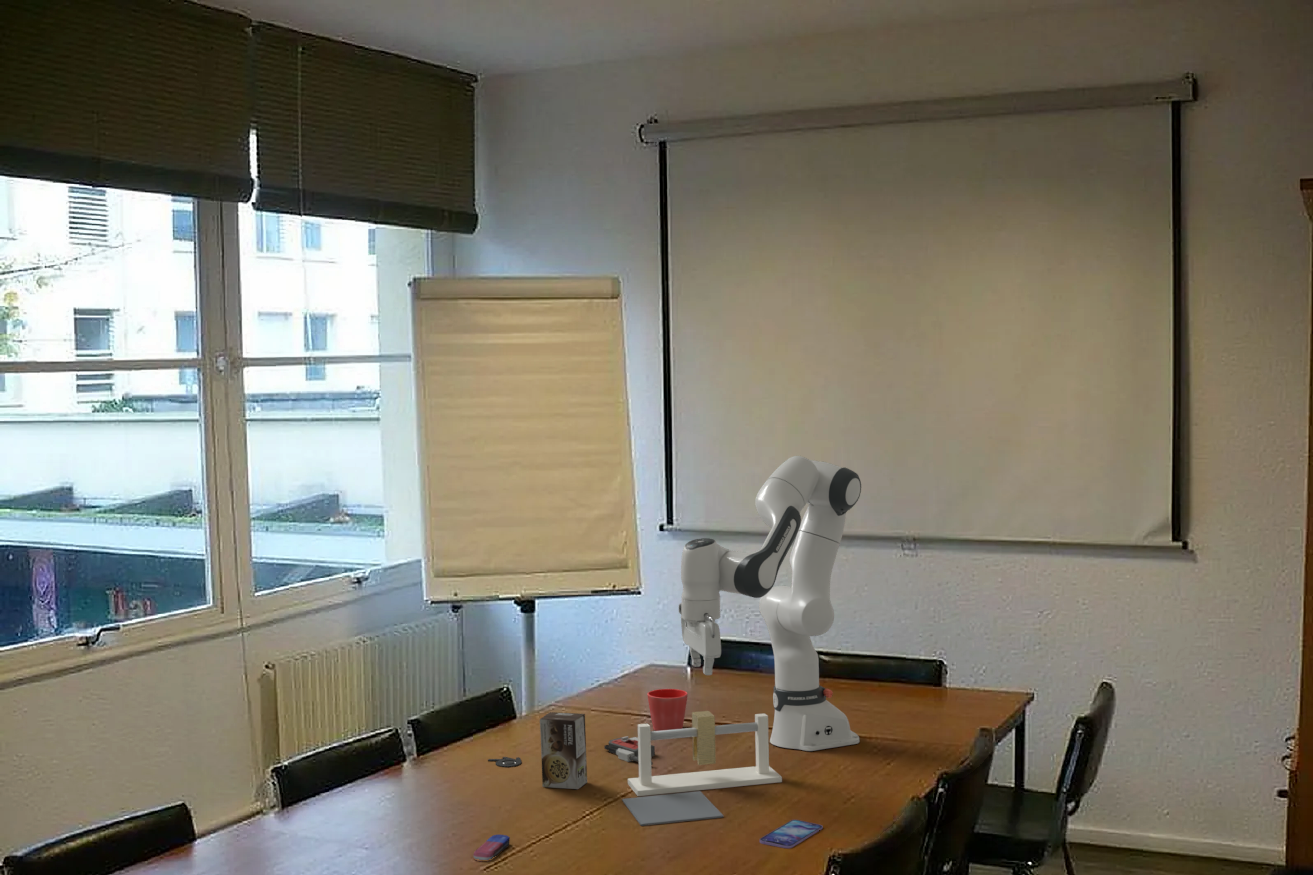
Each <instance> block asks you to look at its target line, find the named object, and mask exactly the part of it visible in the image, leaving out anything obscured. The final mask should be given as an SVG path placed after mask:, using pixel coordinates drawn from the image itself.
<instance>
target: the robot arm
mask: <svg viewBox="0 0 1313 875" xmlns="http://www.w3.org/2000/svg"><path fill="white" fill-rule="evenodd" d="M861 492H862V482H861V479H860V476H859V474H858V473H857V472H855V471H854V470H852V469H850V468H848V467H843V466H842V467H841V466H839V465H836V464H834V463H831V462H827V461H820V460H819V461H818V460H815V459H814V460H813V459H809V458H807V457H805V456H801V455H794V456H790V457H789V458H787V459H786V460H785V461H783V462H782V463H781V464H780V465H779V466H778V467H777V468H776V469H775V470H774V471H773V472H772V474H770V476H769V477H767V479H766V481H765V482H764V483H763V485H762V486H761V487H760V489H759V490H758V492H757V494H756V495H755V496H756V497H755V500H754V503H755V505H754V506H755V509H756V513H757V515H758V516H759V518H760V519H761V520H762V522H764V524H765V525H766V526H768V527H769V528H771V529H770V531H769V533H768V534H767V537H766V538H765V540H764V542H763V544H762V546H761V548H759V549H757V550H755V551H751V552H746V551H739V550H738V551H736V550H730V549H728V548H725V547H723V546H721V545H719V544H718V543H717V541H716V540H715V539H714V538H710V537H708V538H707V537H701V538H696V539H692V540H690V541H687V543H686V544H684V545H683V549H682V553H681V565H680V579H681V582H682V593H681V602H680V603H679V604H678V614H680V625H681V635H682V640H683V643H684V644H686V646H688V647H689V652H690V656H691V657H690V658H691V665H692V666H693V667H695V668H697V667H698V668H699V667H701V665H702V664H701V663H702V659H701V656H702V657H703V660H704V661H703V666H702V672H703V675H705V676H712V675H713V667H714V662H715V659H718V658H721V655H722V643H721V642H722V641H721V640H722V639H721V631H720V630H721V629H720V626H719V624H718V623H717V622H716V620H719V619H720V618H721V595H720V592H726V593H731V594H732V593H733V594H739V595H743V596H747V597H750V598H753V599H759V602H758V609H759V612H760V615H761V617H762V618H763V620H764V622H765V624H766V627H767V631H768V634H769V638H770V639H769V640H770V643H771V647H772V652H773V659H774V660H773V661H774V686H773V694H772V698H773V699H772V700H773V701H772V702H773V703H772V704H773V708H774V715H773V716H774V717H773V724H772V731H771V735H770V739H769V743H770V744H772V745H773V746H777V747H780V748H785V749H794V750H800V751H801V750H802V751H804V752H805V751H806V752H813V751H820V750H825V749H826V750H827V749H832V748H838V747H845V746H850V745H851V746H852V745H856V744H857V745H858V744H859V743H860V736H859V735H858V734H857V733H856V732H854V731H852V730H851V726H850V722H849V721H850V720H849V719H848V717H847V715H846V714H845V713H844V712H843V711H841V710H840V709H839V708H838V707H836V705H834V704H833V703H831V702H830V701H829V700H827V698H829V699H830V698H832V696H833V694H834V692H833V690H831V689H830V688H826V687H823V686H822V685H820V668H819V663H820V662H819V654H818V652H817V650H816V649H815V647H814V645H813V643H812V639H811V637H817V636H818V637H819V636H823V635H824V634H826V633H827V632H828V631H829V630H830V629H831V628H832V626H833V625H834V624H833V623H834V619H835V611H834V608H833V605H832V603H831V579H832V578H831V577H832V573H833V568H834V564H835V561H836V557H837V555H838V551H839V549H840V548H839V547H840V544H841V542H842V537H843V533H844V529H845V526H846V525H845V524H846V515H847V512H848V511H850V510H851V509H852V508H853V507H855V505H856V504H857V502H858V501H859V499H860V497H861ZM806 504H807V505H808V506H807V508H806V510H805V512H804V514H803V516H802V517H801V512H802V510H803V509H804V508H805V506H806ZM792 544H793V545H792ZM791 546H792V549H791ZM790 549H791V552H790V555H789V564H790V567H791V586H790V585H777V586H775V582H776V580H777V576H778V573H779V570H780V568H781V566H782V564H783V562H784V560H785V558H786V555H787V554H788V552H789V550H790Z"/></svg>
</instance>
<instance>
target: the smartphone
mask: <svg viewBox="0 0 1313 875" xmlns="http://www.w3.org/2000/svg"><path fill="white" fill-rule="evenodd" d="M822 829H823V825H822V824H820V823H813V822H810V821H804V820H800V819H791V820H789V821H788V822H786V823H784V824H783V825H780V826H779V827H777V828H775V829H774V830H771V831H770V832H769V833H766V834H765V835H763V836H762V837H761V838H759V843H760V844H762V845H767V846H772V847H776V848H777V847H778V848H780V849H781V848H782V849H793V848H794V847H795V846H797V845H799V844H800V843H802V842H804V841H806V839H808V838H810V837H812V836H813V835H815V834H816V833H819V832H820V831H822ZM819 830H820V831H819Z"/></svg>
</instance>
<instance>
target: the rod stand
mask: <svg viewBox="0 0 1313 875" xmlns="http://www.w3.org/2000/svg"><path fill="white" fill-rule="evenodd" d="M748 732H754V733H755V734H754V738H755V739H754V740H755V742H754V743H755V766H745V767H735V768H734V767H733V768H723V769H716V770H715V769H714V770H703V771H693V772H681V773H680V772H679V773H671V774H661V775H652V765H651V762H652V757H651V745H652V744H651V743H652V741H660V740H671V739H672V740H673V739H681V738H682V739H683V738H692V737H696V736H697V729H696V728H692V727H688V728H687V727H686V728H682V729H673V730H662V731H655V730H652V731H651V725H650V724H648V723H640V724H639V723H638V724H637V738H638V761H639V762H638V777H629V778H627V785H628V786H629V788H631V790H632V791H633V792H634V793H635V795H636V796H637V797H646V796H656V795H666V794H676V793H686V792H697V791H705V790H714V789H725V788H734V787H735V788H736V787H743V786H754V785H766V784H774V783H775V784H776V783H783V777H782V776H781V774H779V773H778V772H777V771H776V770H775V769H773V768H772V767H771V766H770V759H769V758H770V755H769V754H770V752H769V748H770V747H769V745H770V744H769V743H770V740H769V715H768V714H766V713H756V714H754V722H745V723H744V722H743V723H732V724H722V725H721V724H720V725H715V736H717V735H728V734H738V733H748Z"/></svg>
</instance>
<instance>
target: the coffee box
mask: <svg viewBox="0 0 1313 875" xmlns="http://www.w3.org/2000/svg"><path fill="white" fill-rule="evenodd" d="M539 731H540V733H539V734H540V753H541V755H540V756H541V778H542V779H541V781H542V783H541V784H542V785H541V787H543V788H551V789H552V788H553V789H566V790H567V789H570V790H579V789H581V788H582V787H583V786H585V785H586V784H587V783H588V767H587V764H588V763H587V738H586V737H587V736H586V714H585V713H577V712H576V713H574V712H572V713H571V712H554V711H550V712H548V713H547V714H545V715H544V716H543V717H541V718H540V719H539Z"/></svg>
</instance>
